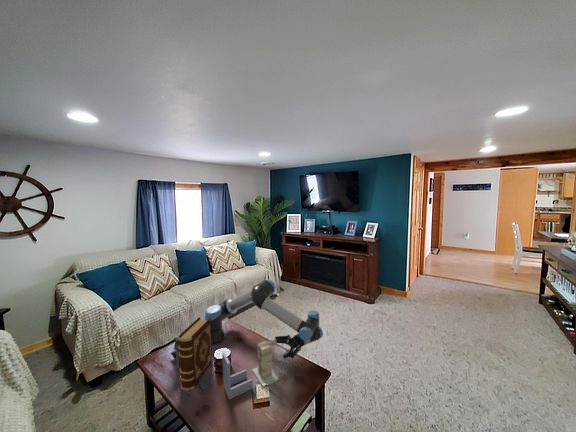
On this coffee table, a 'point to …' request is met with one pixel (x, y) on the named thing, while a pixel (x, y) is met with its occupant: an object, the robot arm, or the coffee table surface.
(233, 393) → the slot rack
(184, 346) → the decorative book
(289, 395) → the coffee table surface
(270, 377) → the sage tile
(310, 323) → the robot arm
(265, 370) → the block
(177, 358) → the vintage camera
